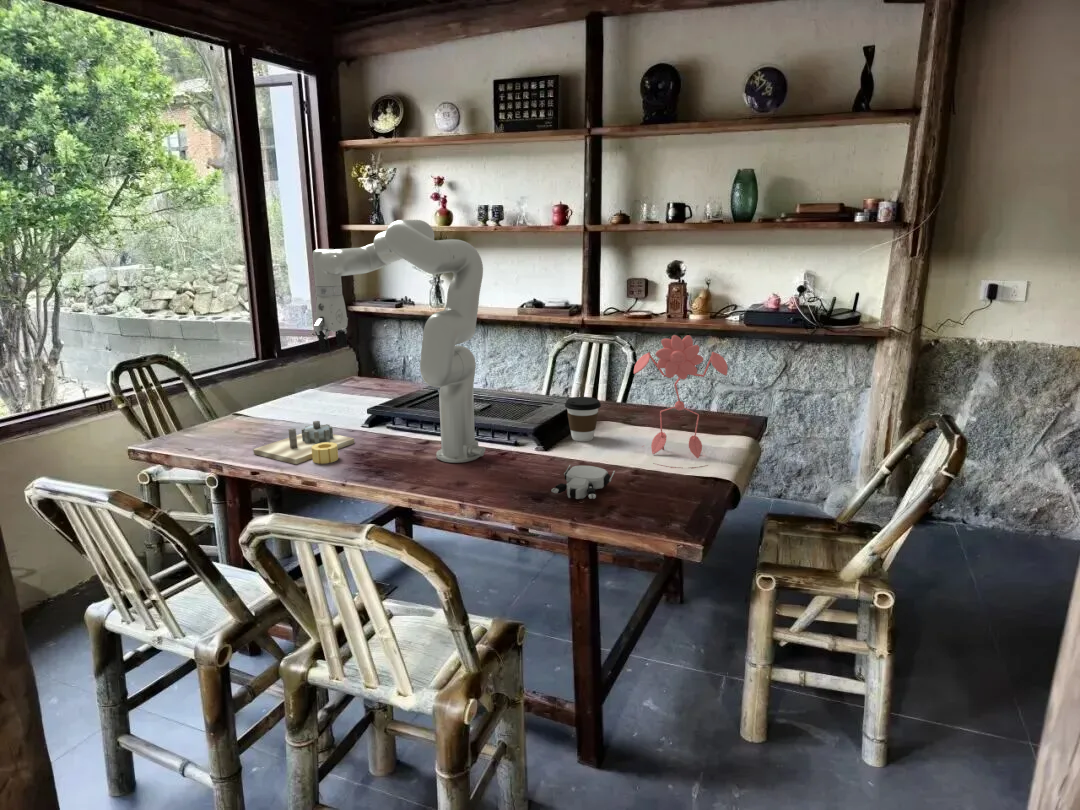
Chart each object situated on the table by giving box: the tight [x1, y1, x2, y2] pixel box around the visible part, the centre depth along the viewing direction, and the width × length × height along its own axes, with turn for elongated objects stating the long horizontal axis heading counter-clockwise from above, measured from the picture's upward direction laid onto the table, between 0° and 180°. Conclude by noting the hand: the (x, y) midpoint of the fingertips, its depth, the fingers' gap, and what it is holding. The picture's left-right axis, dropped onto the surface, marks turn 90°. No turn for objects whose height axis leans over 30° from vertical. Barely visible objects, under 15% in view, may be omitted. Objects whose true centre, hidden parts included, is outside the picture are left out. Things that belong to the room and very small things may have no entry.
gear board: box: [252, 420, 356, 465], centre depth 205 cm, size 18×22×7 cm
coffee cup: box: [564, 396, 602, 442], centre depth 212 cm, size 11×11×12 cm
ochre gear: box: [312, 442, 339, 465], centre depth 196 cm, size 7×7×4 cm
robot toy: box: [551, 464, 616, 500], centre depth 171 cm, size 12×4×15 cm
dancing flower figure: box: [633, 334, 728, 469], centre depth 190 cm, size 15×26×35 cm, turn 68°
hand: (333, 349), depth 209 cm, fingers open, 9 cm apart
